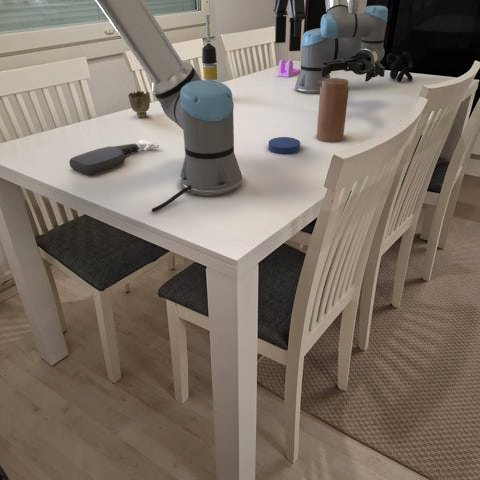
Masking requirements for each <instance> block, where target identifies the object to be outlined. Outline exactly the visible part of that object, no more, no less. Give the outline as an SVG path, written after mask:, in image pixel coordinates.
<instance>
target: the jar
mask: <svg viewBox="0 0 480 480" xmlns="http://www.w3.org/2000/svg"><path fill="white" fill-rule="evenodd" d="M349 83H350V82H349V80H348V79H346V78H341V77H330V78H327V79H323V80H322V85H321V86H320V94H319V99H318V100H319V101H318V112H317V125H316V139H317V140H319V141H320V142H321V141H322V142H326V143H336V142H340V141H343V140H344V136H345V128H346V117H347V108H348V101H349V100H348V99H349V91H350V87H349Z"/></svg>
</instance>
